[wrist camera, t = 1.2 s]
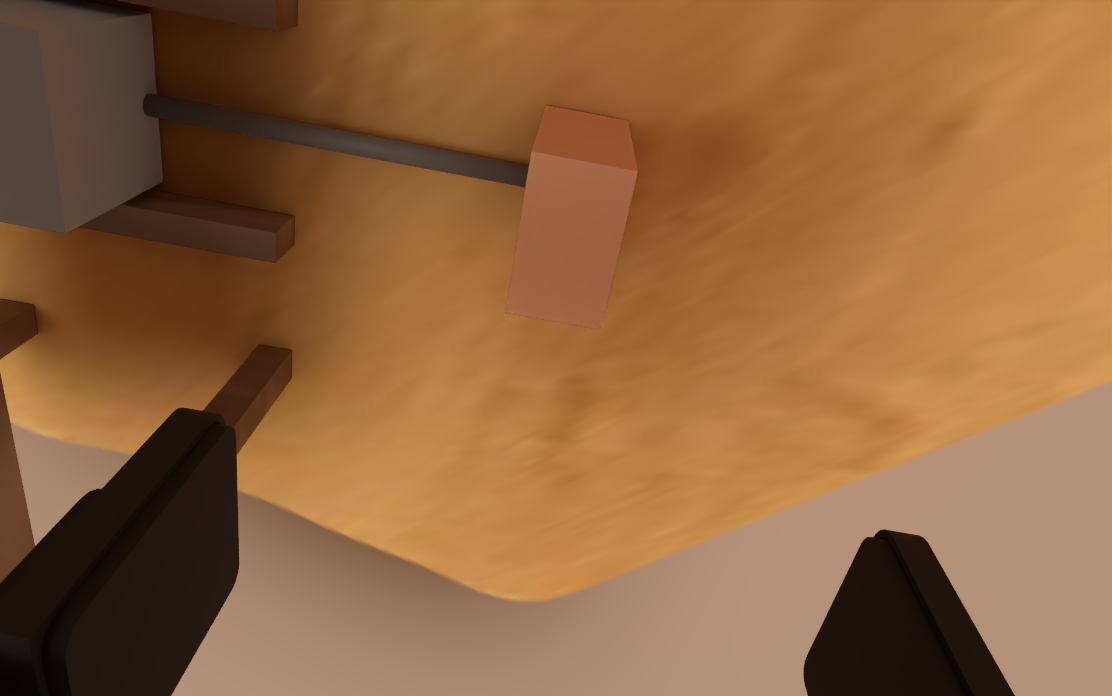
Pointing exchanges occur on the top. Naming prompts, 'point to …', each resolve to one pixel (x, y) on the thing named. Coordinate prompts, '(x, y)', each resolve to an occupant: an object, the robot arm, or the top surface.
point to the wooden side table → (185, 222)
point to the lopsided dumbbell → (135, 153)
